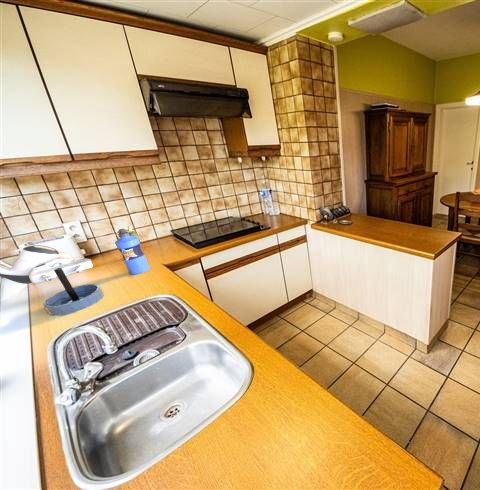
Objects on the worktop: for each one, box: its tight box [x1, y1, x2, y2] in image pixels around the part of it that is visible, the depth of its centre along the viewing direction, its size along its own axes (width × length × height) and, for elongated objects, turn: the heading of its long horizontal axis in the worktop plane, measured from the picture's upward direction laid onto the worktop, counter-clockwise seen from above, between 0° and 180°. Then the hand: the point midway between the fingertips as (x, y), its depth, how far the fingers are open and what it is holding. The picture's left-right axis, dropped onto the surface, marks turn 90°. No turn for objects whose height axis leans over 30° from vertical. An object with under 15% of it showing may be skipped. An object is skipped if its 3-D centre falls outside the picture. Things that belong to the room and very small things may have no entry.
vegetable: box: [127, 225, 143, 251], centre depth 165 cm, size 4×4×20 cm
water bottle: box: [114, 228, 151, 276], centre depth 144 cm, size 9×9×25 cm
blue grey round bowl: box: [42, 283, 105, 317], centre depth 118 cm, size 18×18×6 cm
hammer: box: [54, 268, 84, 303], centre depth 115 cm, size 6×6×18 cm
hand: (63, 275), depth 121 cm, fingers open, 8 cm apart
